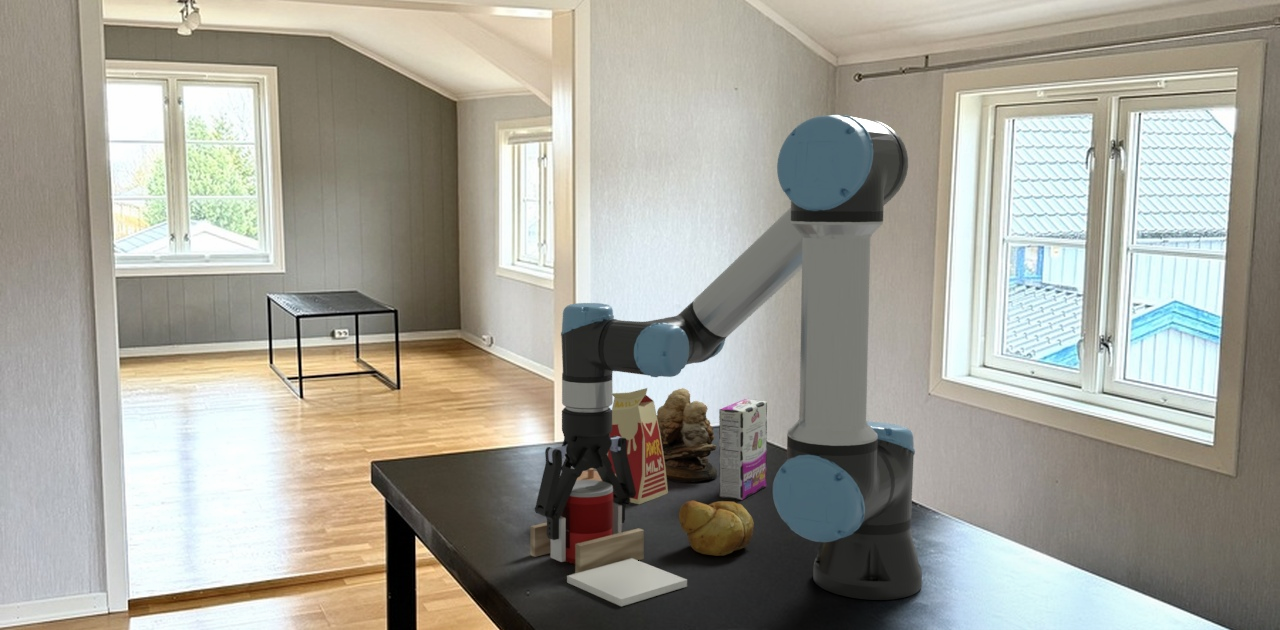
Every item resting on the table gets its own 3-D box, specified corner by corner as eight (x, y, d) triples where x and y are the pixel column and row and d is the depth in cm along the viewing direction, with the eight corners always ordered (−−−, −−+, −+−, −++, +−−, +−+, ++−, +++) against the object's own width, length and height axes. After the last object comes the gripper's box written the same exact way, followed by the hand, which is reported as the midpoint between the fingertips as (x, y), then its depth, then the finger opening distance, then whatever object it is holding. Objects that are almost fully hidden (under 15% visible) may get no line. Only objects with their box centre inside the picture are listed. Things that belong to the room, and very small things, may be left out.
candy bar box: (742, 483, 215) (744, 398, 213) (767, 487, 213) (768, 400, 211) (716, 497, 205) (718, 407, 204) (742, 501, 203) (743, 410, 201)
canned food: (623, 556, 172) (623, 485, 171) (585, 569, 166) (585, 496, 165) (587, 545, 177) (588, 476, 176) (550, 557, 171) (549, 486, 170)
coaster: (687, 586, 159) (687, 579, 159) (621, 606, 151) (621, 599, 151) (631, 564, 168) (631, 558, 168) (567, 582, 160) (567, 575, 160)
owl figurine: (735, 479, 218) (737, 392, 216) (685, 488, 212) (686, 398, 210) (681, 460, 233) (682, 378, 231) (633, 467, 227) (633, 383, 225)
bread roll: (723, 532, 185) (724, 484, 184) (772, 545, 178) (773, 495, 177) (672, 550, 175) (672, 500, 174) (722, 564, 169) (723, 512, 168)
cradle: (643, 559, 171) (643, 530, 170) (580, 576, 163) (580, 546, 163) (592, 539, 180) (592, 511, 180) (530, 554, 172) (530, 526, 172)
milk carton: (668, 493, 208) (669, 385, 206) (641, 504, 200) (641, 393, 198) (626, 486, 213) (627, 380, 210) (598, 497, 205) (598, 387, 203)
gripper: (628, 394, 179) (628, 531, 182) (509, 412, 164) (510, 561, 167) (660, 402, 174) (659, 543, 176) (539, 421, 159) (540, 574, 161)
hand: (586, 552), depth 172 cm, fingers open, 10 cm apart
